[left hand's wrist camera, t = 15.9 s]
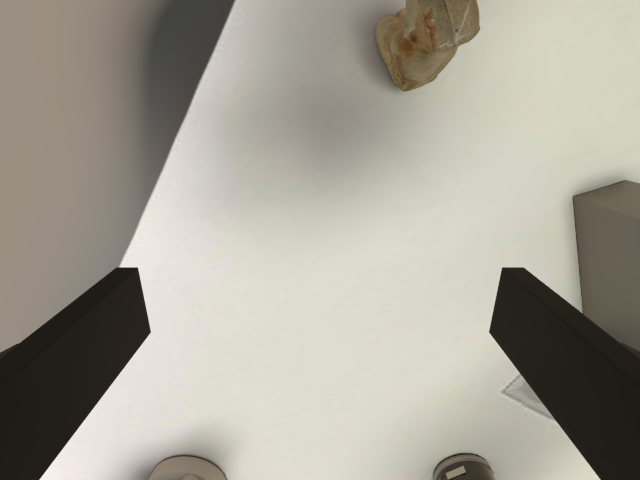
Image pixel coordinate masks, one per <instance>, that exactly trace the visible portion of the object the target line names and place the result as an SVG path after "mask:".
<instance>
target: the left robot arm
mask: <svg viewBox="0 0 640 480" xmlns="http://www.w3.org/2000/svg"><path fill="white" fill-rule="evenodd" d="M150 333H151V331H150V326H149V321H148V316H147V311H146V306H145V301H144V296H143V291H142V286H141V281H140V276H139V271H138V268H115V269H114V270H113V271H112V272H110V273H109V274H108V275H106V276H105V277H104V278H103V279H101V280H100V281H99V282H98V283H96V284H95V285H94V286H92V287H91V288H90V289H88V290H87V291H86V292H85V293H83V294H82V295H81V296H80V297H78V298H77V299H76V300H75V301H73V302H72V303H71V304H69V305H68V306H67V307H65V308H64V309H63V310H62V311H60V312H59V313H58V314H57V315H55V316H54V317H53V318H51V319H50V320H49V321H48V322H46V323H45V324H44V325H42V326H41V327H40V328H39V329H37V330H36V331H35V332H34V333H32V334H31V335H30V336H28V337H27V338H26V339H25V340H23V341H22V342H21V343H19V344H16V345H14V346H12V347H10V348H8V349H6V350H5V351H3V352H1V353H0V480H39V479H40V478H41V477H42V475H43V474H44V473H45V471H46V470H47V469H48V467H49V466H50V465H51V463H52V462H53V461H54V459H55V458H56V457H57V455H58V454H59V453H60V452H61V450H62V449H63V448H64V446H65V445H66V444H67V442H68V441H69V440H70V438H71V437H72V436H73V434H74V433H75V432H76V430H77V429H78V428H79V426H80V425H81V424H82V422H83V421H84V420H85V418H86V417H87V416H88V415H89V413H90V412H91V411H92V409H93V408H94V407H95V405H96V404H97V403H98V401H99V400H100V399H101V397H102V396H103V395H104V393H105V392H106V391H107V389H108V388H109V387H110V385H111V384H112V383H113V381H114V380H115V379H116V378H117V376H118V375H119V374H120V372H121V371H122V370H123V368H124V367H125V366H126V364H127V363H128V362H129V360H130V359H131V358H132V356H133V355H134V354H135V352H136V351H137V350H138V348H139V347H140V346H141V344H142V343H143V342H144V341H145V339H146V338H147V337H148V335H149V334H150ZM489 333H490V334H491V335H492V337H493V338H494V339H495V341H496V342H497V343H498V344H499V346H500V347H501V348H502V350H503V351H504V352H505V354H506V355H507V356H508V358H509V359H510V360H511V362H512V363H513V364H514V366H515V367H516V368H517V370H518V371H519V372H520V374H521V375H522V376H523V378H524V379H525V380H526V381H527V383H528V384H529V385H530V387H531V388H532V389H533V391H534V392H535V393H536V395H537V396H538V397H539V399H540V400H541V401H542V403H543V404H544V405H545V407H546V408H547V409H548V411H549V412H550V413H551V415H552V416H553V417H554V418H555V420H556V421H557V422H558V424H559V425H560V426H561V428H562V429H563V430H564V432H565V433H566V434H567V436H568V437H569V438H570V440H571V441H572V442H573V444H574V445H575V446H576V448H577V449H578V450H579V452H580V453H581V454H582V455H583V457H584V458H585V459H586V461H587V462H588V463H589V465H590V466H591V467H592V469H593V470H594V471H595V473H596V474H597V475H598V477H599V478H600V479H601V480H640V351H638V350H636V349H635V348H633V347H631V346H629V345H627V344H625V343H623V342H618V341H617V340H615V339H614V338H613V337H612V336H610V335H609V334H608V333H607V332H605V331H604V330H603V329H601V328H600V327H599V326H598V325H596V324H595V323H594V322H592V321H591V320H590V319H589V318H587V317H586V316H585V315H583V314H582V313H581V312H580V311H578V310H577V309H576V308H575V307H573V306H572V305H571V304H569V303H568V302H567V301H566V300H564V299H563V298H562V297H560V296H559V295H558V294H557V293H555V292H554V291H553V290H552V289H550V288H549V287H548V286H546V285H545V284H544V283H543V282H541V281H540V280H539V279H537V278H536V277H535V276H534V275H532V274H531V273H530V272H528V271H527V270H526V269H525V268H502V271H501V276H500V281H499V286H498V291H497V296H496V301H495V306H494V311H493V316H492V321H491V326H490V331H489Z"/></svg>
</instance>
